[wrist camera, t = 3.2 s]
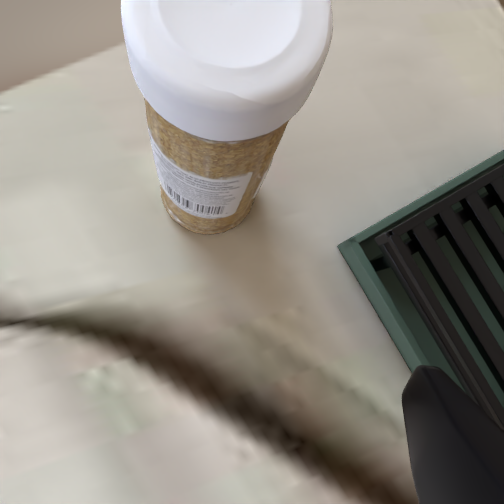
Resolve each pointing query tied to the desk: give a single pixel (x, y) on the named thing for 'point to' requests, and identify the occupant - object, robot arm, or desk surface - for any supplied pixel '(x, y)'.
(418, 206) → the drip tray
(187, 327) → the desk surface
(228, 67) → the sprinkles bottle
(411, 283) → the rack
